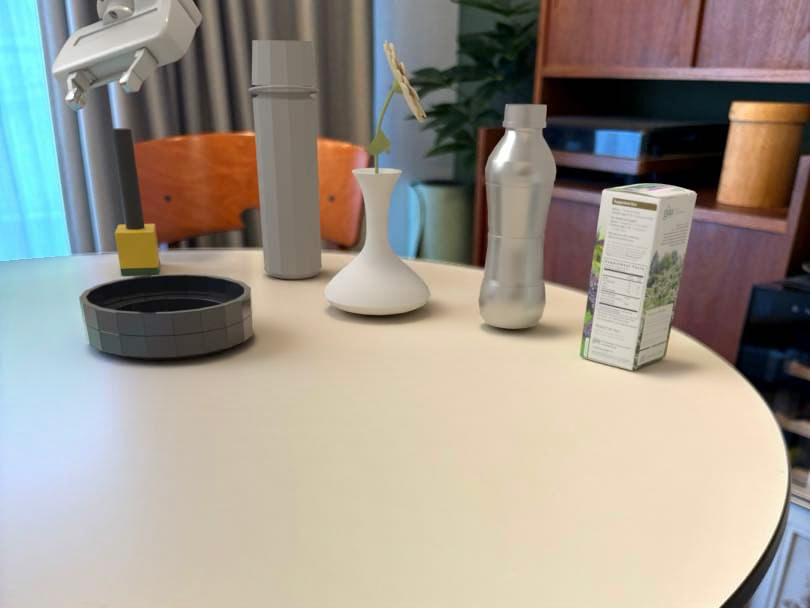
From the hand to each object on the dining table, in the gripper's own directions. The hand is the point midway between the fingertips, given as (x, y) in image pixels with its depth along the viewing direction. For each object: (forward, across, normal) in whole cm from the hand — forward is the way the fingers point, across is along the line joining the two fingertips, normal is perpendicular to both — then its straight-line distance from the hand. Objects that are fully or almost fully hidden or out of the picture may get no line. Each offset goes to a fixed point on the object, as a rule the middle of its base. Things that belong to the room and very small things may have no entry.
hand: (100, 97), depth 99 cm
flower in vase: (+22, +35, +18) cm, 45 cm away
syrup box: (+30, +62, +19) cm, 72 cm away
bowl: (+35, +24, +2) cm, 43 cm away
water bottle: (+12, +18, +21) cm, 30 cm away
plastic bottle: (+24, +50, +20) cm, 59 cm away
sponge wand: (+15, +1, +13) cm, 20 cm away
